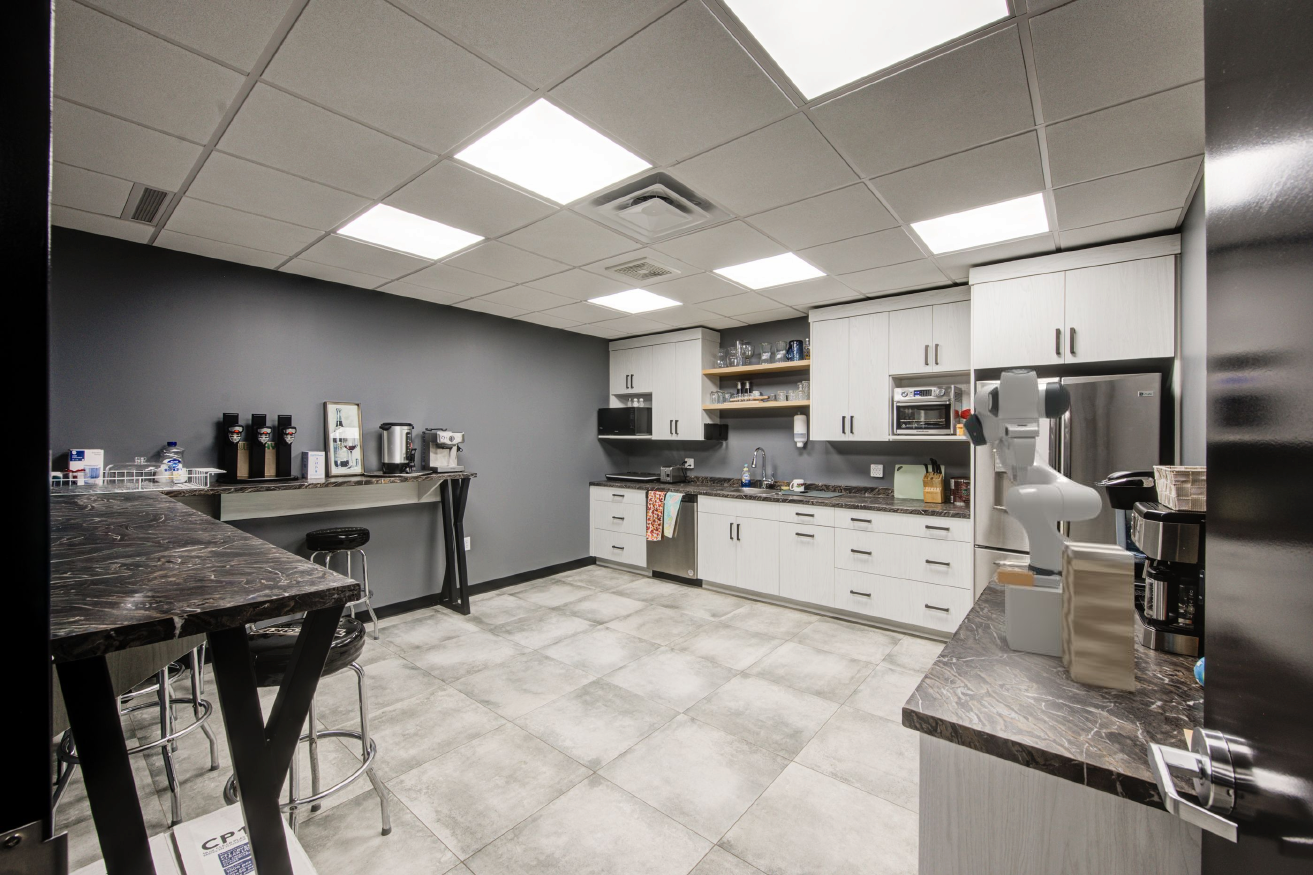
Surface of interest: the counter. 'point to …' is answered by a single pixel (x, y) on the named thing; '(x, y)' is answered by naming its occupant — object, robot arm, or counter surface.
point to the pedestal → (1034, 618)
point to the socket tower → (1098, 614)
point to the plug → (1025, 578)
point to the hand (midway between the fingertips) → (1019, 482)
